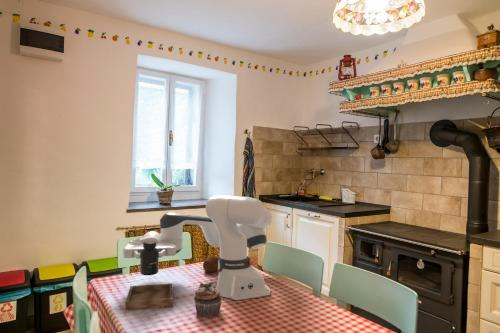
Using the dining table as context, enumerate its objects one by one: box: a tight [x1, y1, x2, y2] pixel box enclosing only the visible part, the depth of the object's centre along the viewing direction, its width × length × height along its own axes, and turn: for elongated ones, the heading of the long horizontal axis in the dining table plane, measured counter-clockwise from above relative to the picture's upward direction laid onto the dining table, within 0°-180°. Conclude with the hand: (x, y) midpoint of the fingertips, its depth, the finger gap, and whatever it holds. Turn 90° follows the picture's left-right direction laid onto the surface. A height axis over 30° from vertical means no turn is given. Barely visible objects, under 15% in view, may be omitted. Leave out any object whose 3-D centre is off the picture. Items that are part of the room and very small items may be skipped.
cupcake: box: [193, 281, 223, 319], centre depth 119 cm, size 10×10×10 cm
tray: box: [125, 283, 174, 311], centre depth 129 cm, size 16×16×3 cm
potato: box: [202, 255, 219, 274], centre depth 166 cm, size 8×11×8 cm
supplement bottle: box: [139, 241, 160, 276], centre depth 132 cm, size 7×7×12 cm
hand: (149, 255), depth 131 cm, fingers closed on supplement bottle, 7 cm apart
